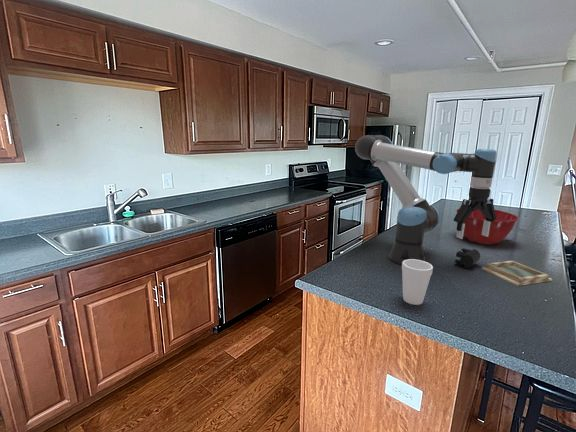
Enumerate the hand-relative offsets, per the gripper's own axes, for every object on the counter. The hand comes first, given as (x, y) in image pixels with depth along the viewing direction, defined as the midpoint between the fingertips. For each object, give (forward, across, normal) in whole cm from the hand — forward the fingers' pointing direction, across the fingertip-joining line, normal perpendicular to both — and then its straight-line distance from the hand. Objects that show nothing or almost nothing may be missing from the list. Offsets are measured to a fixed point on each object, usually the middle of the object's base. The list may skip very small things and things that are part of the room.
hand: (472, 236), depth 135 cm
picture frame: (+13, +12, -13) cm, 22 cm away
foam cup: (+13, -43, -20) cm, 49 cm away
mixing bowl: (+13, +36, +26) cm, 46 cm away
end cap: (+14, 0, 0) cm, 14 cm away
